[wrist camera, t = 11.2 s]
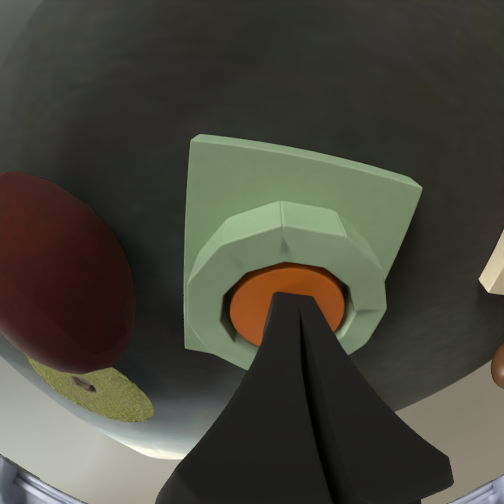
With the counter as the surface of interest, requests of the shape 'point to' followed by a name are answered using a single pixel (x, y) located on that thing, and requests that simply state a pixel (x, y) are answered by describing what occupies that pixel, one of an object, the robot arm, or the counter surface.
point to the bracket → (495, 270)
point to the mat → (100, 392)
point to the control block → (286, 233)
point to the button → (289, 281)
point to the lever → (498, 366)
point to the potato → (61, 278)
